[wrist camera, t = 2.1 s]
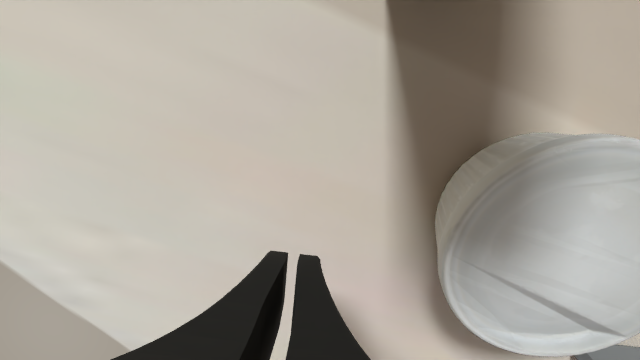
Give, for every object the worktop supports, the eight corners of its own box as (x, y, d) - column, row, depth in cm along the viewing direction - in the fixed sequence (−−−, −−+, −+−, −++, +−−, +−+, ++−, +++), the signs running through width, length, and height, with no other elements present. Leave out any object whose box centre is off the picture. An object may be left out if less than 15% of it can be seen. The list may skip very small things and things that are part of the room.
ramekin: (417, 295, 22) (440, 364, 17) (417, 125, 18) (446, 150, 13) (599, 287, 21) (679, 357, 16) (639, 106, 18) (757, 126, 13)
